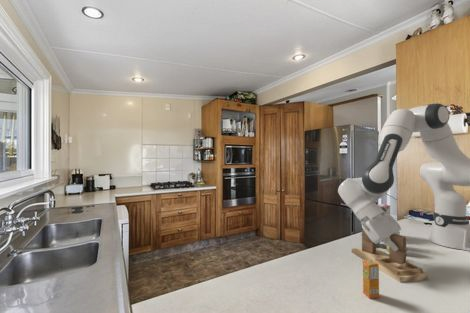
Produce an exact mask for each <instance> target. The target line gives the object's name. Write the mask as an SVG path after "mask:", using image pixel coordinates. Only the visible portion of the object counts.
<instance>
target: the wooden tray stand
mask: <svg viewBox="0 0 470 313" xmlns="http://www.w3.org/2000/svg"><path fill="white" fill-rule="evenodd" d="M351 253H352V254H354V255H356V256H357V257H359V258H360V259H362V261H363V260H373V261H374V262H376V263H378V265H379V271H381V272H383V273H384V274H386V275H388V276H389V277H391V278H393V279H395V280H396V281H397V282H399V283H406V282H414V281H415V282H416V281H417V282H418V281H427V280H429V274H428V273H425V272H424V269H423V268H421V267H419V266H417V265H415V264H412V263H411V262H409V261H407V260H406V262H405V263H404V264H403V265H401V264H398V263H395V262H392V261H389V254H388V252H385V251H382V250H380V249H378V248H377V244H375V243H373V242H372V241H371V239H370V238H369V237H368V235H367V234H366V233H365V231H364V230H363V228H362V229H361V247H360V248H359V247H356V248H351Z"/></svg>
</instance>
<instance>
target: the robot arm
mask: <svg viewBox="0 0 470 313" xmlns="http://www.w3.org/2000/svg"><path fill="white" fill-rule="evenodd" d="M449 120H450V112H449V109H448V107H447V106H445V105H444V104H442V103H430V104H426V105H420V106H419V105H418V106H414V107H412V108H409V109H408V108H398V109H395V110H393V111H392V112H391V113H390V114H389V116H388V117H387V119H386V120H385V122H384V124H383V126H382V128H381V130H380V134H379V137H378V142H377V143H378V146H379V150H378V151H377V154H376V156H375V159H374V161H373V162H372V163H371V164H370V165H368V166H367V167H366V168H365V169H364V171H363V172H362V174H361V177H354V178H353V177H347V178H346V179H344V180H343V181H342V182H341V183H339V186H338V187H337V193H338V195H339V197H340V198H341V200H342V201H343V202H344V203H345V205H346V206H347V207H349V209H351V211H352V212H353V213H354V215H355V216H356V218H357V219H358V220H359V221H360V224H361V227H362V229H363V230H364V231H365V233H366V234H367V235H368V237H369V238H370V239H371V241H372V242H373V243H375V244H376V245H378V244H377V243H379V242H380V243H381V242H383V243H384V244H385V245H386V246H387V245H388V246H389V247H391V248H392V250H393V251H396V250H398V249H399V247H398V246H397V244H394V243H393V242H392V241H391V239H390V238H389V236H391V235H392V234H397V233H396V232H398V231H400V232H401V231H402V227H401V226H400V224H399V222H398V221H396V219H395V218H394V217H393V216H392V215H391V213H390V214H389V213H387V212H388V210H387V209H386V208H385V207H381V206H379V205H377V204H376V203H377V202H376V201H377V200H379V199H382V198H384V197H385V196H386V195H387V193H388V192H389V190H390V189H391V188H392V187H393V185H394V182H395V176H394V171H393V170H394V169H393V168H394V165H395V163H396V159H397V157H398V154H399V152H402V151H404V150H405V148H406V147H407V146H408V144H409V142H410V140H411V138H412V136H413V133H419V135H420V138H421V141H422V144H423V147H424V149H425V151H426V154H427V155H428V156H429V157H430V158H431V159H435V160H436V161H429V162H424V163H422V164H421V166H420V168H419V175H420V178H421V179H422V180H423V181H424V182H426V184H427V185H428V186H429V187H430V190H431V191H432V194H433V199H434V201H433V202H434V211H433V214H432V218H433V221H432V224H431V230H430V234H429V235H428V238H429V241H430V242H432V243H433V244H436V245H439V246H441V247H447V248H451V249H458V250H463V251H467V252H470V215H467V199H466V198H465V197H464V196H463V195H462V194H460V193H458V192H457V190H456V189H455V188H454V186H456V187H457V186H459V187H470V158H469V156H467V155H466V154H465V153H463V151H462V150H461V149H460V147H459V146H458V143H457V142H456V139H455V138H456V137H454V134H453V132H452V129H451V128H452V127H451V126H450V124H449ZM375 202H376V203H375ZM380 243H379V244H380Z"/></svg>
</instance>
